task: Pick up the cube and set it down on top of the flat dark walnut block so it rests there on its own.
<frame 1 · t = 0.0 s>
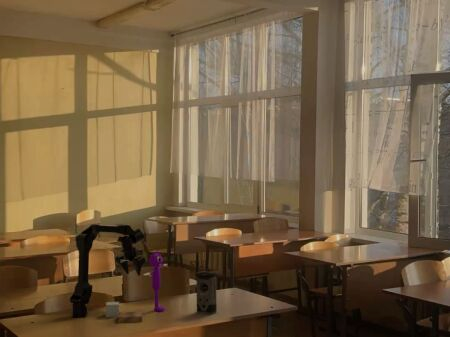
hand: (133, 274, 325), 15 cm above the table, tool pointing down, fingers open, 9 cm apart
walnut block: (130, 320, 290), on the table
toy: (157, 311, 308), on the table
cube: (112, 315, 299), on the table
electronic device: (206, 312, 303), on the table
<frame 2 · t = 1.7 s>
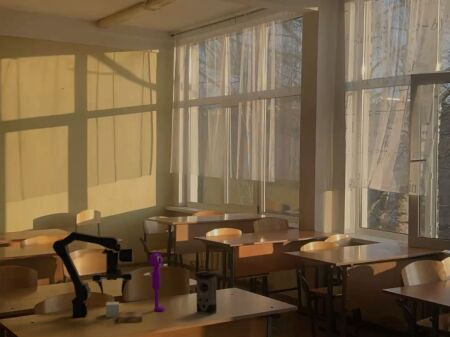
hand: (112, 294, 299), 10 cm above the table, tool pointing down, fingers open, 9 cm apart
nothing on the table moved.
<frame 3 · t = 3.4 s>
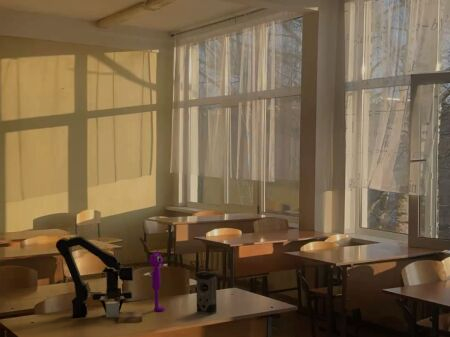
hand: (112, 312, 299), 1 cm above the table, tool pointing down, fingers closed on cube, 6 cm apart
cube: (112, 315, 299), on the table, touching gripper
everything else where it was.
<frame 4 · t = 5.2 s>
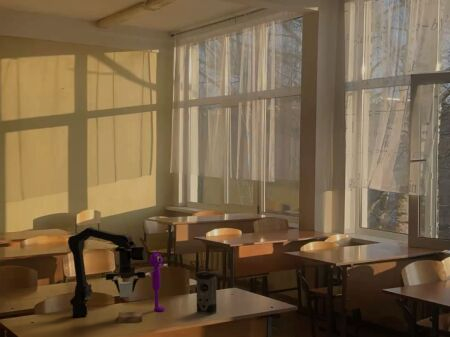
hand: (126, 293, 293), 12 cm above the table, tool pointing down, fingers closed on cube, 6 cm apart
cube: (126, 295, 293), point 11 cm above the table, touching gripper
everything else where it was.
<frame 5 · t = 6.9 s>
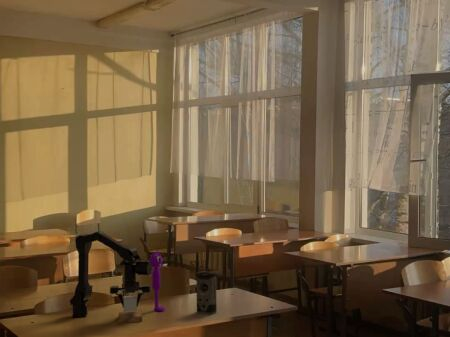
hand: (130, 307, 291), 6 cm above the table, tool pointing down, fingers closed on cube, 6 cm apart
cube: (130, 309, 291), point 5 cm above the table, touching gripper
everything else where it was.
when the fingers open (6 cm above the table, at t = 7.4 s): cube drops 2 cm, resting on walnut block.
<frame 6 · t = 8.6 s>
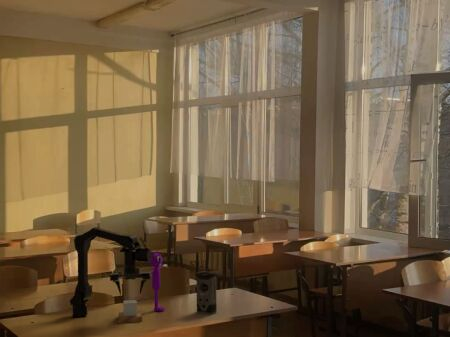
hand: (130, 294, 290), 12 cm above the table, tool pointing down, fingers open, 9 cm apart
walnut block: (130, 320, 290), on the table, touching cube
toy: (157, 311, 308), on the table, touching gripper
cube: (130, 314, 290), point 2 cm above the table, touching walnut block
everything else where it was.
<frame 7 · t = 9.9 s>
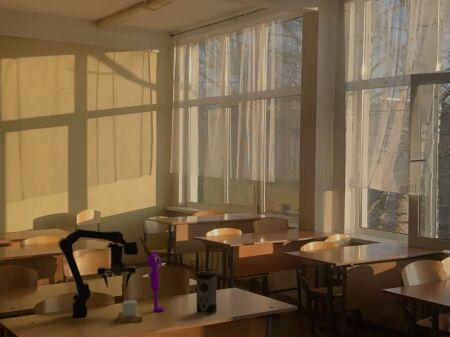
hand: (116, 287, 305), 13 cm above the table, tool pointing down, fingers open, 9 cm apart
toy: (156, 311, 308), on the table
everything else where it was.
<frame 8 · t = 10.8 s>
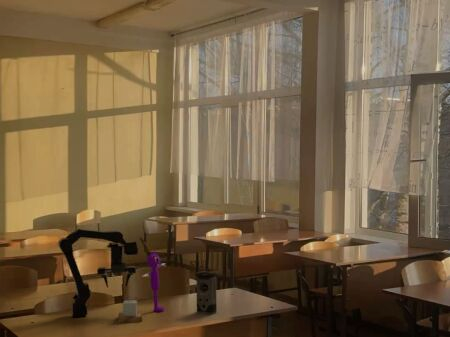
hand: (116, 287, 305), 13 cm above the table, tool pointing down, fingers open, 9 cm apart
walnut block: (130, 320, 290), on the table
cube: (130, 314, 290), point 2 cm above the table
everything else where it was.
at the end: cube inside the target area on the walnut block (0.1 cm from its centre), point 3.0 cm above the walnut block's base; cube tilted 1°; the gripper is holding nothing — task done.
